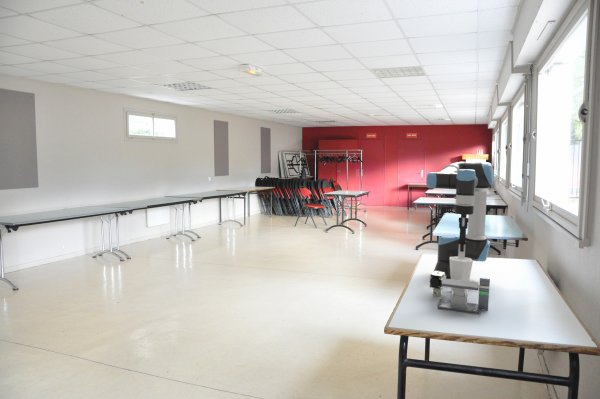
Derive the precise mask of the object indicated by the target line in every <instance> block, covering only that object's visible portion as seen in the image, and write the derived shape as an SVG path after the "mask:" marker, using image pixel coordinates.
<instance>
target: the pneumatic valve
mask: <svg viewBox="0 0 600 399" xmlns="http://www.w3.org/2000/svg"><path fill="white" fill-rule="evenodd" d="M443 278H444V279H446V276H445V272H441V271H435V272H434V271H433V272H432V273H431V274H430V279H429V288H433V289H432V296H433V297H434V296H435V297H438V298H439V297H441V295H442V287H443V286H441V285H442V279H443Z"/></svg>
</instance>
